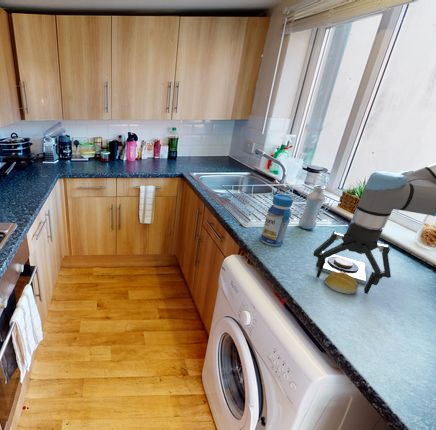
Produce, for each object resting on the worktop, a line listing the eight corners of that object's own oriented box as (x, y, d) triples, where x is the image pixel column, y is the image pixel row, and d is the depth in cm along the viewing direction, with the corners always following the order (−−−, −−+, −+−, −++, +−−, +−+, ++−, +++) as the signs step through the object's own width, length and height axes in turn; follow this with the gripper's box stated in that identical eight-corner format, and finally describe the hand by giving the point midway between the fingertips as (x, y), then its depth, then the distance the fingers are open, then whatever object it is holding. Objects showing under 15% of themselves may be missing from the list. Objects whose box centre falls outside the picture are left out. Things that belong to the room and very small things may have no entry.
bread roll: (320, 285, 94) (324, 275, 92) (330, 275, 99) (334, 265, 97) (351, 299, 88) (355, 288, 86) (359, 287, 93) (364, 277, 91)
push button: (363, 266, 104) (366, 260, 103) (364, 284, 94) (367, 277, 93) (320, 254, 111) (323, 247, 110) (317, 269, 101) (320, 263, 100)
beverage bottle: (285, 247, 115) (300, 201, 106) (263, 245, 116) (276, 199, 108) (278, 237, 123) (291, 193, 114) (257, 235, 124) (268, 192, 115)
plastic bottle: (300, 223, 136) (313, 183, 127) (316, 228, 131) (331, 187, 122) (294, 227, 132) (308, 186, 123) (311, 232, 127) (326, 190, 119)
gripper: (421, 232, 80) (388, 292, 89) (319, 209, 93) (299, 264, 102) (426, 242, 75) (391, 306, 84) (317, 217, 88) (296, 274, 97)
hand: (340, 283), depth 93 cm, fingers open, 12 cm apart
